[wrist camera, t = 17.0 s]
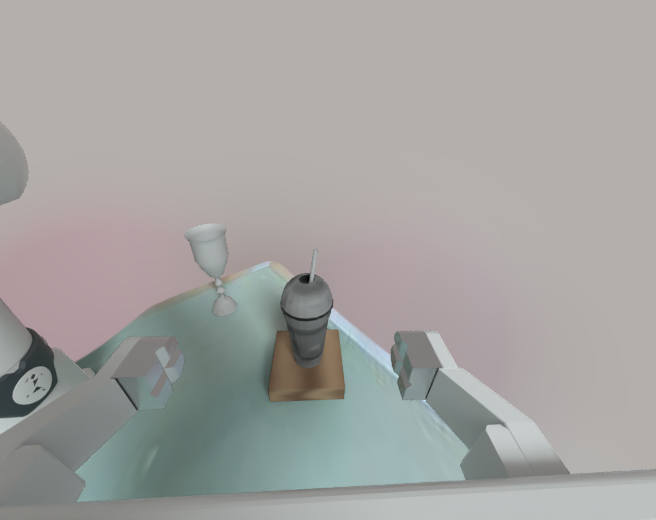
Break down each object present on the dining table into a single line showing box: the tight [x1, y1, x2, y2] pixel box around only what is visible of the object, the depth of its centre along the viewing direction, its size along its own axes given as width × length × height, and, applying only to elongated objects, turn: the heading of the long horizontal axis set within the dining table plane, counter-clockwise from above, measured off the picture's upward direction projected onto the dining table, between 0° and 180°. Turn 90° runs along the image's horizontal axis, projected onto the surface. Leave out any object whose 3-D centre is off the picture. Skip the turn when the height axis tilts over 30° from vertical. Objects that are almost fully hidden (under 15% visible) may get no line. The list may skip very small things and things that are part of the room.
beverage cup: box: [281, 249, 333, 368], centre depth 36 cm, size 7×7×20 cm
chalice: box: [185, 224, 237, 317], centre depth 49 cm, size 7×7×18 cm
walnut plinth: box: [268, 330, 345, 402], centre depth 42 cm, size 11×11×3 cm
